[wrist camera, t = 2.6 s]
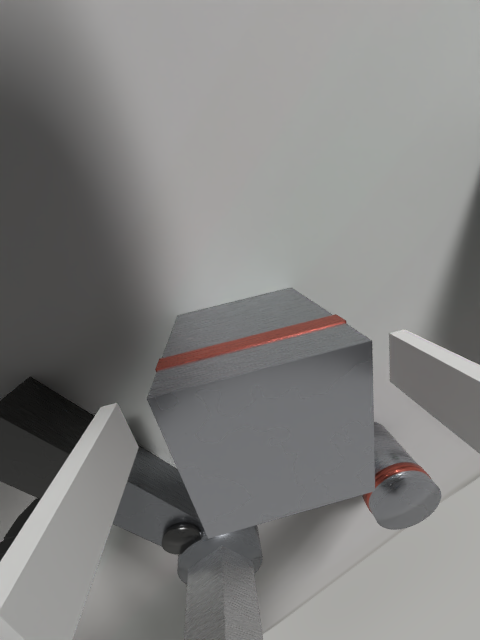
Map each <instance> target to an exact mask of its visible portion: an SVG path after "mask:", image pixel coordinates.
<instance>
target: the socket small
mask: <svg viewBox="0 0 480 640" xmlns="http://www.w3.org/2000/svg"><path fill="white" fill-rule="evenodd" d="M374 460H375V491H374V492H370V493H367V494H363V495H362V497H363V499H364V502H365V503H366V505H367V507H368V508H369V510H370V512H371V513H372V514H373V515H374V517H375V519H376V521H377V522H378V524H379V525H380V526H382V527H384V528H387V529H403V528H407V527H410V526H413V525H415V524H417V523H419V522H421V521H423V520H424V519H425V518H427V517H428V516H429V515H430V514H431V513H433V512H434V510H435V509H436V508H437V506H438V505H439V502H440V500H441V491H440V489H439V487H438V486H437V485H436V484H435V483H434V482H433V481H432V480H431V478H430V476H429V475H428V474H427V473H426V472H425V471H424V469H423V468H422V467H421V466H419V465H418V464H417V463H416V462H415V461H414V460H413V459H412V457H411V456H410V455H409V454H408V453H407V452H406V451H405V450H404V449H403V447H402V446H401V445H400V444H399V443H398V442H397V441H396V440H395V439H394V437H393V436H392V435H391V434H390V433H389V432H388V431H387V430H386V429H385V427H383V426H382V425H381V424H379V423H376V422H374Z"/></svg>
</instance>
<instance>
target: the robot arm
mask: <svg viewBox="0 0 480 640" xmlns="http://www.w3.org/2000/svg"><path fill="white" fill-rule="evenodd" d="M389 351H390V382H391V383H392V384H394V385H395V386H396V387H397V388H399V389H400V390H401V391H402V392H404V393H405V394H406V395H407V396H409V397H410V398H411V399H412V400H414V401H415V402H416V403H417V404H419V405H420V406H421V407H422V408H424V409H425V410H426V411H427V412H429V413H430V414H431V415H432V416H434V417H435V418H436V419H437V420H439V421H440V422H441V423H442V424H443V425H445V426H446V427H447V428H448V429H450V430H451V431H452V432H453V433H455V434H456V435H457V436H458V437H460V438H461V439H462V440H463V441H465V442H466V443H467V444H468V445H470V446H471V447H472V448H473V449H475V450H476V451H477V452H478V453H480V365H479V364H477V363H475V362H472V361H470V360H468V359H466V358H464V357H462V356H460V355H458V354H456V353H453V352H451V351H449V350H447V349H445V348H443V347H441V346H439V345H436V344H434V343H432V342H430V341H428V340H426V339H424V338H422V337H420V336H417V335H415V334H413V333H411V332H409V331H407V330H405V329H404V330H400V331H396V332H392V333H389ZM138 448H139V447H138V445H137V443H136V441H135V438H134V436H133V434H132V432H131V430H130V428H129V426H128V424H127V422H126V420H125V418H124V415H123V413H122V411H121V409H120V407H119V405H118V403H114V404H110V405H106V406H102V407H100V409H99V410H98V412H97V414H96V415H95V417H94V418H93V420H92V421H91V423H90V424H89V426H88V427H87V429H86V430H85V432H84V434H83V435H82V437H81V438H80V440H79V441H78V443H77V444H76V446H75V447H74V449H73V450H72V452H71V454H70V455H69V457H68V458H67V460H66V461H65V463H64V464H63V466H62V467H61V469H60V470H59V472H58V474H57V475H56V477H55V478H54V480H53V481H52V483H51V484H50V486H49V487H48V489H47V490H46V492H45V494H44V495H43V497H41V498H38V499H35V500H34V501H33V502H32V503H31V504H30V505H29V506H28V508H27V509H26V510H25V511H24V512H23V513H22V514H21V515H20V516H19V517H18V518H17V520H16V521H15V522H14V524H13V525H12V527H11V528H10V530H9V531H8V533H7V534H6V535H5V537H4V541H2V542H1V543H0V640H73V637H74V634H75V631H76V628H77V626H78V623H79V620H80V617H81V614H82V611H83V608H84V605H85V602H86V599H87V596H88V594H89V591H90V588H91V585H92V582H93V579H94V576H95V573H96V570H97V567H98V564H99V562H100V559H101V556H102V553H103V550H104V547H105V544H106V541H107V538H108V535H109V532H110V530H111V527H112V524H113V521H114V518H115V515H116V512H117V509H118V506H119V503H120V500H121V498H122V495H123V492H124V489H125V486H126V483H127V480H128V477H129V474H130V471H131V468H132V466H133V463H134V460H135V457H136V454H137V451H138Z"/></svg>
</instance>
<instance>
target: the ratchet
mask: <svg viewBox="0 0 480 640" xmlns="http://www.w3.org/2000/svg"><path fill="white" fill-rule="evenodd" d="M93 418H94V416H93V415H91V414H89V413H88V412H86V411H85V410H83V409H81V408H80V407H78V406H77V405H75V404H73V403H72V402H70V401H68V400H67V399H65V398H64V397H62V396H60V395H59V394H57V393H56V392H54V391H52V390H51V389H49V388H48V387H46V386H44V385H43V384H41V383H39V382H38V381H36V380H35V379H33V378H31V377H29V378H28V379H26V380H25V381H24V382H23V383H22V384H20V385H19V386H18V387H17V388H15V389H14V390H13V391H12V392H10V393H9V394H8V395H7V396H6V397H4V398H3V399H2V400H1V401H0V481H2V482H4V483H6V484H8V485H10V486H13V487H15V488H17V489H19V490H21V491H24V492H26V493H28V494H30V495H33V496H35V497H37V498H41V497H43V495H44V494H45V492H46V490H47V489H48V487H49V486H50V484H51V483H52V481H53V480H54V478H55V477H56V475H57V474H58V472H59V470H60V469H61V467H62V466H63V464H64V463H65V461H66V460H67V458H68V457H69V455H70V454H71V452H72V450H73V449H74V447H75V446H76V444H77V443H78V441H79V440H80V438H81V437H82V435H83V434H84V432H85V430H86V429H87V427H88V426H89V424H90V423H91V421H92V420H93ZM138 447H139V448H138V451H137V454H136V457H135V460H134V463H133V466H132V468H131V471H130V474H129V477H128V480H127V483H126V486H125V489H124V492H123V495H122V498H121V500H120V503H119V506H118V509H117V512H116V515H115V518H114V521H113V524H114V525H117V526H119V527H121V528H123V529H125V530H127V531H129V532H132V533H134V534H136V535H138V536H140V537H142V538H144V539H147V540H149V541H151V542H153V543H155V544H157V545H160V546H162V547H163V549H164V550H165V551H167V552H169V553H172V554H179V558H178V570H177V571H178V575H179V577H180V579H181V580H182V581H183V582H184V583H185V584H187V598H186V615H185V631H184V640H263V636H262V629H261V621H260V614H259V606H258V599H257V592H256V584H255V577H254V574H255V573H256V571H257V570H258V569H259V567H260V565H261V563H262V552H261V546H260V540H259V534H258V528H257V525H255V526H251V527H248V528H244V529H241V530H237V531H234V532H230V533H227V534H223V535H220V536H216V537H213V538H209V539H208V537H207V535H206V532H205V530H204V528H203V525H202V523H201V521H200V519H199V516H198V514H197V512H196V509H195V507H194V505H193V503H192V500H191V498H190V496H189V494H188V491H187V489H186V487H185V484H184V482H183V480H182V478H181V475H180V473H179V471H178V470H177V469H176V468H174V467H173V466H171V465H169V464H168V463H166V462H165V461H163V460H161V459H160V458H158V457H156V456H155V455H153V454H152V453H150V452H148V451H147V450H145V449H143V448H142V447H140V446H139V445H138Z"/></svg>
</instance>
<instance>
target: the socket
mask: <svg viewBox="0 0 480 640" xmlns="http://www.w3.org/2000/svg"><path fill="white" fill-rule="evenodd" d="M155 370H156V372H157V373H156V375H155V378H154V381H153V384H152V386H151V389H150V392H149V395H148V397H147V400H148V402H149V405H150V407H151V409H152V412H153V414H154V416H155V418H156V421H157V423H158V425H159V427H160V430H161V432H162V434H163V437H164V439H165V441H166V443H167V446H168V448H169V450H170V453H171V455H172V457H173V459H174V462H175V464H176V466H177V468H178V471H179V473H180V475H181V478H182V480H183V482H184V484H185V487H186V489H187V491H188V494H189V496H190V498H191V500H192V503H193V505H194V507H195V509H196V512H197V514H198V516H199V519H200V521H201V523H202V525H203V528H204V530H205V532H206V535H207V537H208V539H209V538H213V537H216V536H220V535H223V534H227V533H230V532H234V531H237V530H241V529H244V528H248V527H251V526H255V525H258V524H262V523H265V522H269V521H272V520H276V519H279V518H283V517H286V516H290V515H293V514H297V513H300V512H304V511H307V510H311V509H314V508H318V507H321V506H325V505H328V504H332V503H335V502H339V501H342V500H346V499H349V498H353V497H356V496H360V495H363V494H367V493H370V492H374V491H375V460H374V412H373V365H372V340H370V339H369V338H367V337H366V336H364V335H363V334H361V333H360V332H358V331H357V330H355V329H354V328H352V327H351V326H349V325H348V324H346V321H345V320H344V319H342V318H341V317H339V316H338V315H336V314H335V315H332V314H331V313H329V312H328V311H326V310H325V309H323V308H322V307H320V306H319V305H317V304H316V303H314V302H313V301H311V300H310V299H308V298H307V297H305V296H304V295H302V294H301V293H299V292H298V291H296V290H295V289H293V288H288V289H284V290H280V291H276V292H272V293H267V294H263V295H259V296H255V297H251V298H247V299H243V300H239V301H235V302H231V303H227V304H223V305H219V306H215V307H211V308H206V309H202V310H198V311H194V312H190V313H186V314H182V315H178V316H177V318H176V321H175V324H174V326H173V329H172V332H171V335H170V337H169V340H168V343H167V346H166V348H165V351H164V354H163V356H162V358H161V359H159V361H158V364H157V366H156V369H155Z"/></svg>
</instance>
